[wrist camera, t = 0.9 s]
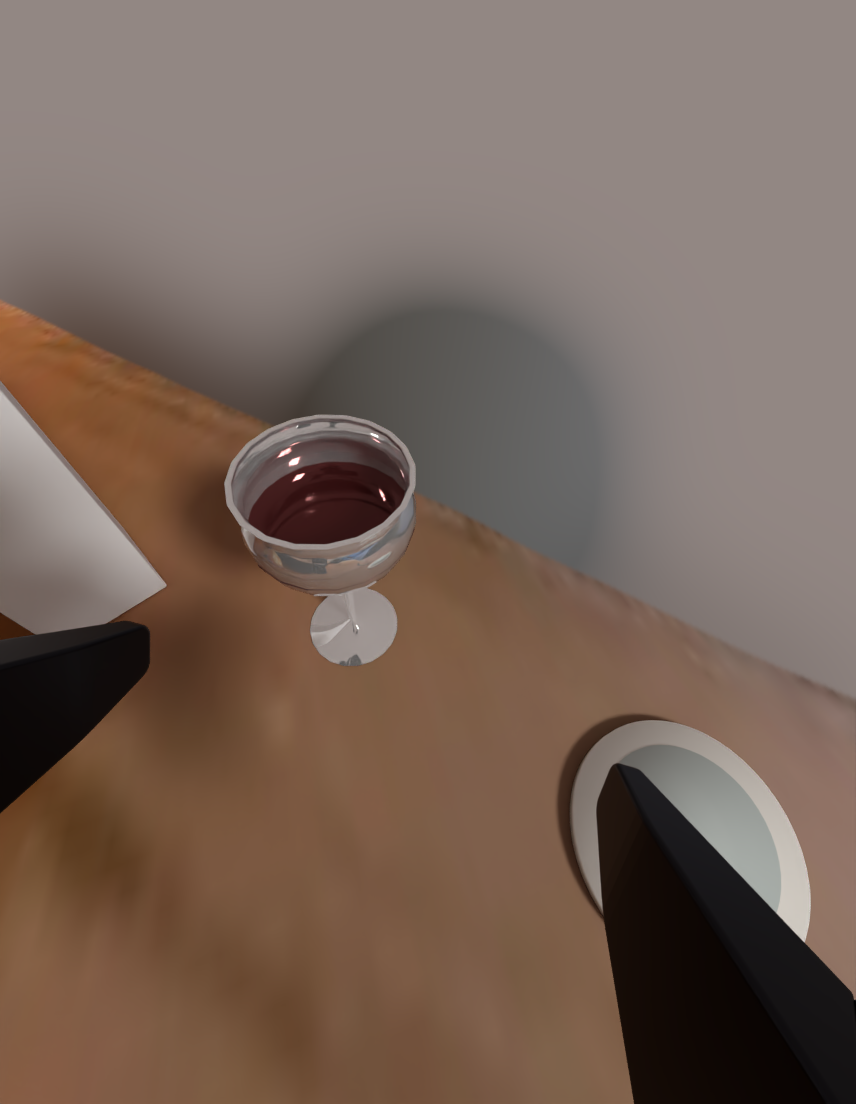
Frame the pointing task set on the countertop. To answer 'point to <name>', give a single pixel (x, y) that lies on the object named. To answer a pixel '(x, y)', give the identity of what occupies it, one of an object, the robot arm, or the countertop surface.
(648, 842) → the robot arm
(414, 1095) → the countertop surface
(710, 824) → the plate
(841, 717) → the countertop surface
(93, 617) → the milk
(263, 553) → the wineglass
